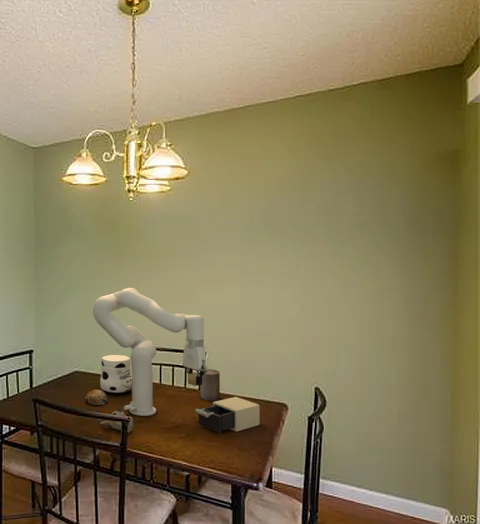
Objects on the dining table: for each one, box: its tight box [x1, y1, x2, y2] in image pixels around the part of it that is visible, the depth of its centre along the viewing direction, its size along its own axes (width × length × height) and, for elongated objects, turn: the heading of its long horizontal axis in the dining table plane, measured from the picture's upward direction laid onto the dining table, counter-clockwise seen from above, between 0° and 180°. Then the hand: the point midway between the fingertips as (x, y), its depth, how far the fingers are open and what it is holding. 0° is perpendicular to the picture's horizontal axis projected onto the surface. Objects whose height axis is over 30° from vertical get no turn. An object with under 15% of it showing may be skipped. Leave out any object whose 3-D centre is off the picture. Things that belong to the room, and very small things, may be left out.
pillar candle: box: [199, 368, 221, 402], centre depth 219 cm, size 10×10×15 cm
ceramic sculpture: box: [98, 409, 134, 434], centre depth 178 cm, size 11×9×15 cm
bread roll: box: [85, 389, 108, 406], centre depth 213 cm, size 10×10×8 cm
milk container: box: [99, 354, 132, 395], centre depth 231 cm, size 17×17×18 cm
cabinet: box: [212, 396, 261, 433], centre depth 185 cm, size 15×13×9 cm
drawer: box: [194, 405, 235, 434], centre depth 179 cm, size 18×11×8 cm, turn 120°
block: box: [187, 371, 198, 387], centre depth 191 cm, size 4×4×4 cm
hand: (194, 383), depth 191 cm, fingers closed on block, 4 cm apart
